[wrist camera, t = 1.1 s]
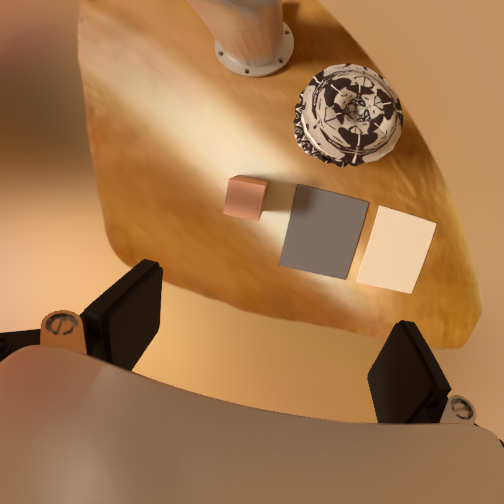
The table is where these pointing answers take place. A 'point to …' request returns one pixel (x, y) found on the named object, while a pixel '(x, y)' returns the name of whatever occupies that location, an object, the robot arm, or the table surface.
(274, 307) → the table surface
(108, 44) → the table surface
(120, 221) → the table surface
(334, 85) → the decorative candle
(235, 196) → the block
